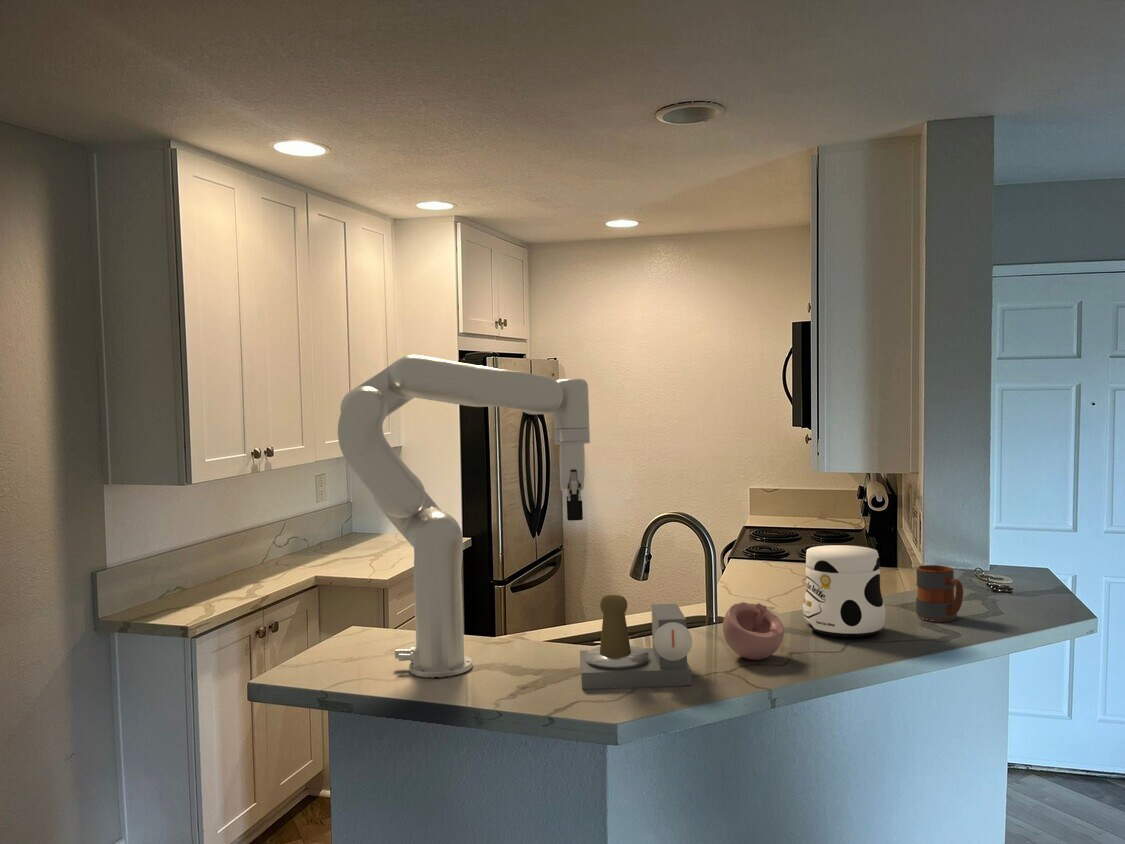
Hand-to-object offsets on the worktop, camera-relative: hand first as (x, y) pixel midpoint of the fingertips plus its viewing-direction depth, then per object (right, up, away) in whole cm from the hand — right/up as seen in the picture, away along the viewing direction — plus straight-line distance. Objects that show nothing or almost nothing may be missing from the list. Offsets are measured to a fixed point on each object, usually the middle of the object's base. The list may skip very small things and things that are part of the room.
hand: (574, 517), depth 173 cm
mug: (+85, -26, +14) cm, 90 cm away
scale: (+11, -28, -18) cm, 35 cm away
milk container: (+60, -27, +7) cm, 66 cm away
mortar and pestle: (+36, -27, -10) cm, 46 cm away
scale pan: (+8, -25, -18) cm, 32 cm away
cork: (+8, -24, -17) cm, 31 cm away
